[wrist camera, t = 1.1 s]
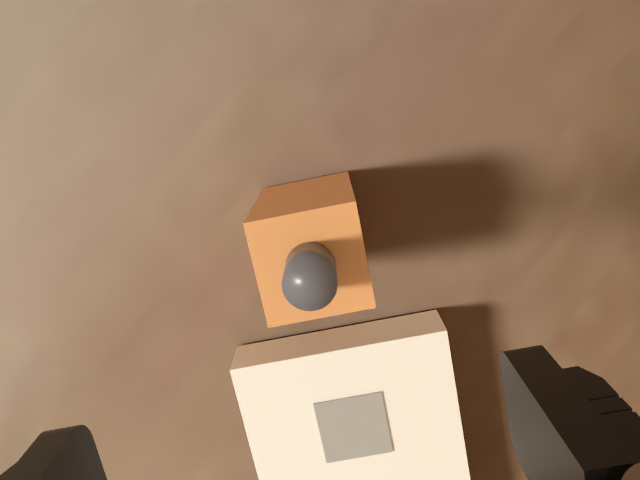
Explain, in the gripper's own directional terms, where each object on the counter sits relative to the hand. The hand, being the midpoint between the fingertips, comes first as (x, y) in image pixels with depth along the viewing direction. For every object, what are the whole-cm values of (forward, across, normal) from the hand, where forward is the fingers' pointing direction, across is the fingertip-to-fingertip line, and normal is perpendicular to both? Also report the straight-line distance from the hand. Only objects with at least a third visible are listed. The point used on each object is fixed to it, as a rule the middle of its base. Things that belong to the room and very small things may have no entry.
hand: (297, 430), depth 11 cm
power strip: (+17, 0, +13) cm, 22 cm away
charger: (+17, 0, 0) cm, 17 cm away
